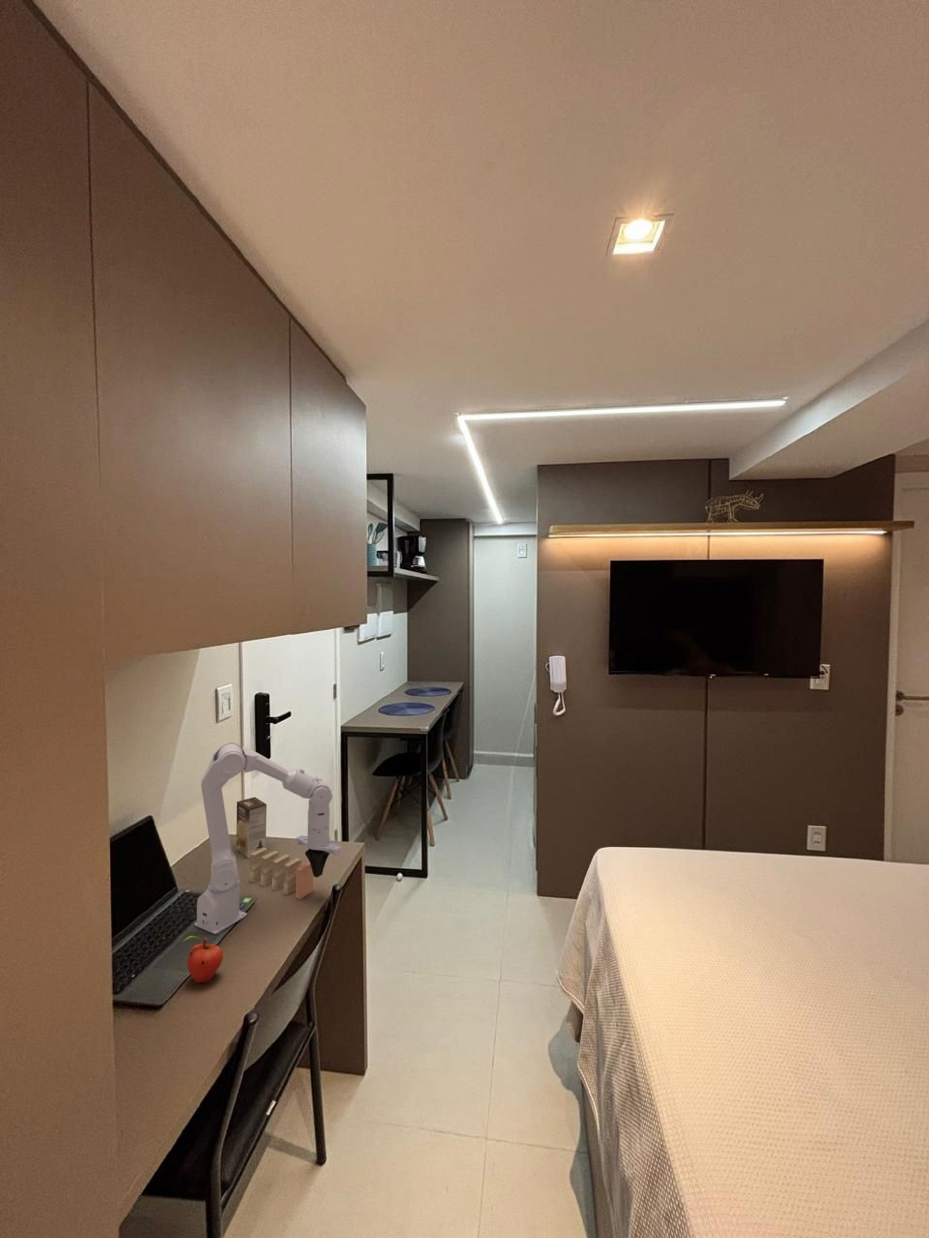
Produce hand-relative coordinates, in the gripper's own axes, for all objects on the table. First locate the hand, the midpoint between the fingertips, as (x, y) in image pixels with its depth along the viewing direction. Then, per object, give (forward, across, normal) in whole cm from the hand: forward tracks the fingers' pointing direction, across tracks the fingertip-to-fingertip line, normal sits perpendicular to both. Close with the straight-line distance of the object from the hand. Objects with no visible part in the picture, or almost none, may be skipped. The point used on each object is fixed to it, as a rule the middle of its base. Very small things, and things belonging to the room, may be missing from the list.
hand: (317, 875), depth 147 cm
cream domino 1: (+6, +23, 0) cm, 24 cm away
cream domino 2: (+6, +18, 0) cm, 20 cm away
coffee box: (+7, +39, -11) cm, 41 cm away
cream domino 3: (+6, +14, 0) cm, 15 cm away
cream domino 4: (+6, +9, 0) cm, 11 cm away
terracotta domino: (+6, +5, 0) cm, 8 cm away
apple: (+7, -1, +36) cm, 37 cm away
